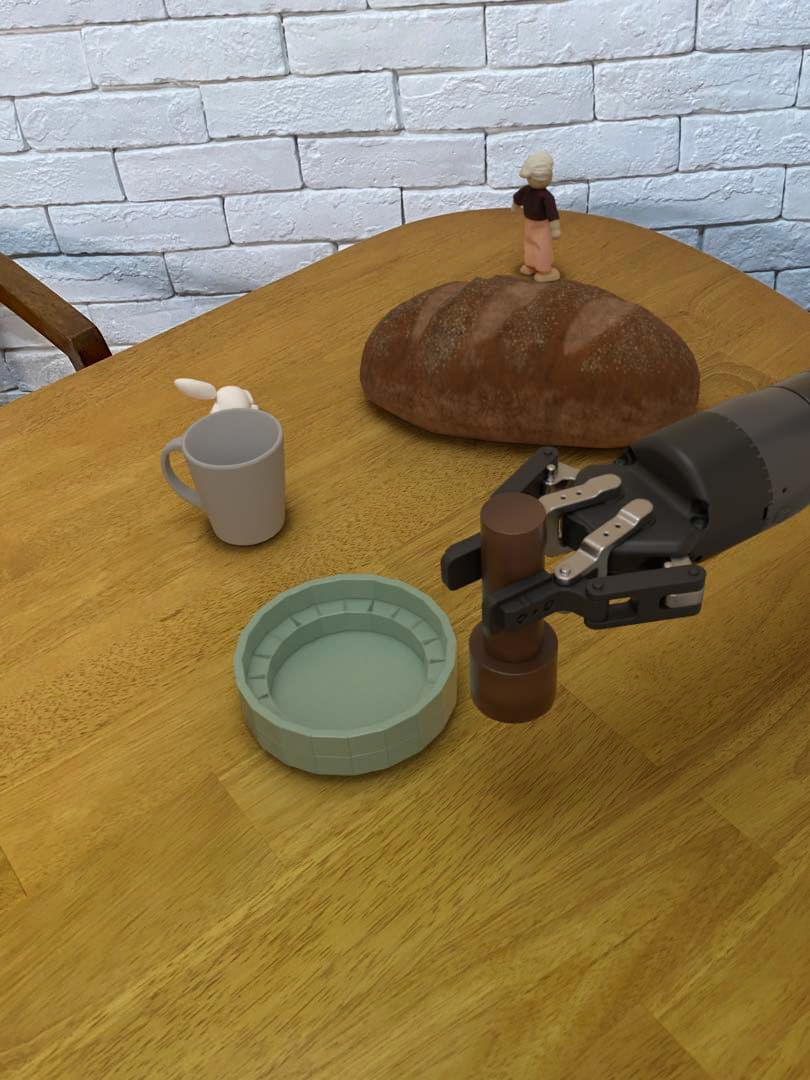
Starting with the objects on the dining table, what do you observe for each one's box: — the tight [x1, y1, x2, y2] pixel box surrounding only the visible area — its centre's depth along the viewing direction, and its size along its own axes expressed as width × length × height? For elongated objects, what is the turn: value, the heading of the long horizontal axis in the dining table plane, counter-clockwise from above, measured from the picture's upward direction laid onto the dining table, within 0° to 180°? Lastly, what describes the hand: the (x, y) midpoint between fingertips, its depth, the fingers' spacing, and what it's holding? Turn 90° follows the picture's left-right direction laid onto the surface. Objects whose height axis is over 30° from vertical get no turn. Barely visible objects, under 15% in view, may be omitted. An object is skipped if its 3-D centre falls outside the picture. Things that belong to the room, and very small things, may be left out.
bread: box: [359, 274, 701, 449], centre depth 96 cm, size 16×29×11 cm, turn 75°
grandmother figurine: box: [510, 150, 562, 283], centre depth 113 cm, size 8×4×13 cm, turn 43°
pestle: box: [468, 493, 559, 725], centre depth 59 cm, size 5×5×13 cm
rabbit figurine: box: [173, 377, 260, 414], centre depth 98 cm, size 6×4×8 cm
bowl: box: [232, 573, 459, 777], centre depth 74 cm, size 14×14×4 cm
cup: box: [159, 408, 286, 546], centre depth 87 cm, size 8×10×8 cm
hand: (466, 595), depth 56 cm, fingers closed on pestle, 3 cm apart
